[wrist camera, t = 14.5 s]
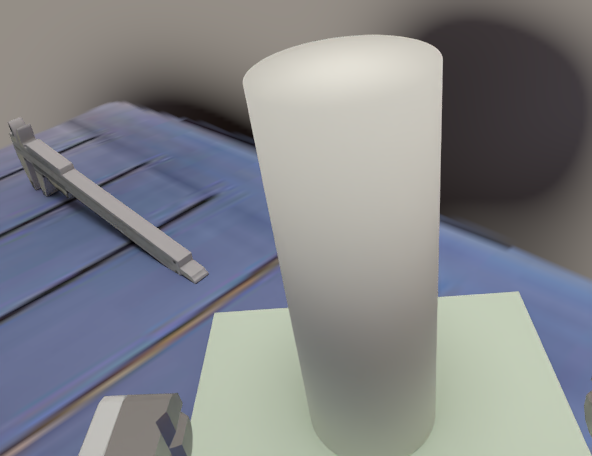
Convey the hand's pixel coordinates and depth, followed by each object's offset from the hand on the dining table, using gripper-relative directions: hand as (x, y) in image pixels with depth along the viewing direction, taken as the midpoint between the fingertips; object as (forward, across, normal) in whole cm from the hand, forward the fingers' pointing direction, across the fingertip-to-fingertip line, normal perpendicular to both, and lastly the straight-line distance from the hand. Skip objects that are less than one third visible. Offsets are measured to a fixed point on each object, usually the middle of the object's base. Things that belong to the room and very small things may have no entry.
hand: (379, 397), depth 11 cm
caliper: (+22, +17, +10) cm, 30 cm away
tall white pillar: (+7, 0, +10) cm, 12 cm away
